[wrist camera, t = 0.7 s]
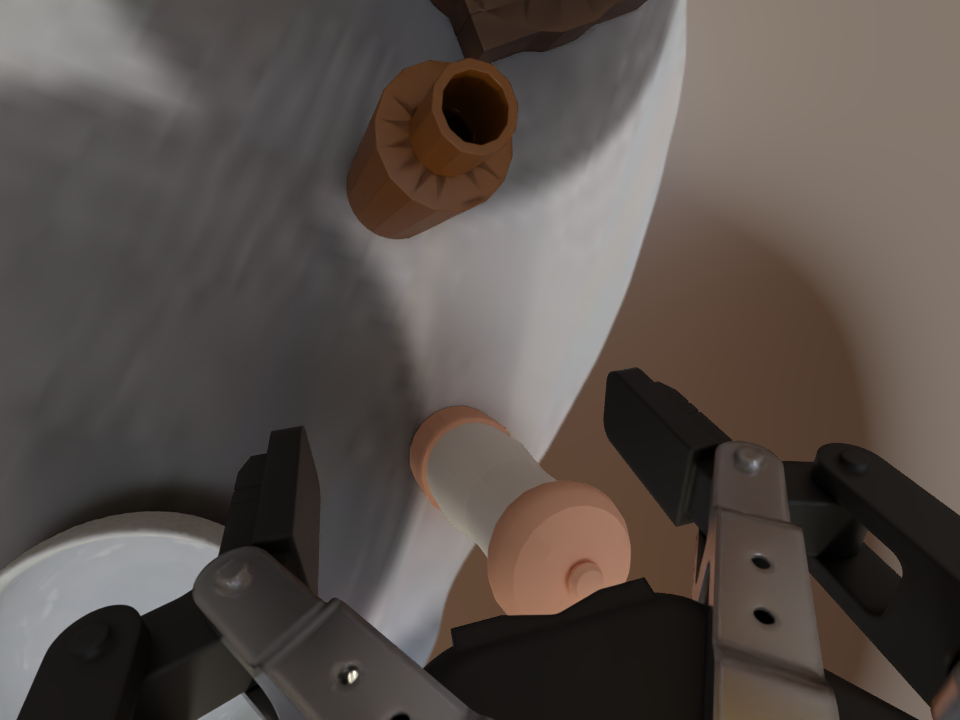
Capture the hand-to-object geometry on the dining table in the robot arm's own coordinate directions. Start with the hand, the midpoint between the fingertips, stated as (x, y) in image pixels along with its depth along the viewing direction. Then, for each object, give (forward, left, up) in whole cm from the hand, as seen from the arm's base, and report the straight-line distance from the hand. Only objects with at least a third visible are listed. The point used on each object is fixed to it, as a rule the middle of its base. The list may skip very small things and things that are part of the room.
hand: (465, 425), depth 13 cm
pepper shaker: (+11, +3, -24) cm, 26 cm away
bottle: (-8, +7, -24) cm, 26 cm away
